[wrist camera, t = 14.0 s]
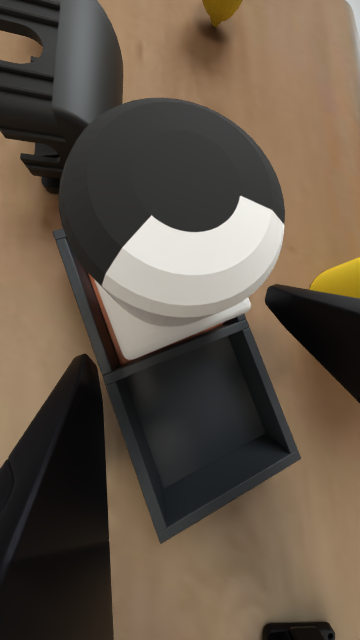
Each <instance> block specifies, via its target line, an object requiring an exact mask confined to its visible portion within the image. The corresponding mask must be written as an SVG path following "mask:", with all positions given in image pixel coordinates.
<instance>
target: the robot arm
mask: <svg viewBox="0 0 360 640" xmlns="http://www.w3.org/2000/svg"><path fill="white" fill-rule="evenodd" d="M265 303H266V305H267V306H268V308H269V309H270V310H271V311H272V312H273V314H274V315H275V316H276V317H277V319H278V320H279V321H280V322H281V324H282V325H283V326H284V327H285V328H286V329H287V330H288V331H289V332H290V333H291V334H292V335H293V336H294V337H295V338H296V339H297V340H298V341H299V342H300V343H301V344H302V345H303V346H304V347H305V348H306V349H307V350H308V351H309V352H310V353H311V354H312V355H313V356H314V357H315V358H316V359H317V360H318V361H319V362H320V363H321V365H322V366H323V367H324V368H325V369H326V370H327V371H328V372H329V373H330V374H331V375H332V376H333V377H334V378H335V379H336V380H337V381H338V382H339V383H340V384H341V385H342V386H343V387H344V388H345V389H346V390H347V391H348V392H349V393H350V394H351V395H352V396H353V397H354V398H355V399H356V400H357V401H358V402H359V403H360V298H354V297H348V296H343V295H337V294H331V293H325V292H319V291H313V290H308V289H302V288H296V287H290V286H284V285H279V284H275V285H272V286H270V287H268V289H267V293H266V297H265ZM8 458H9V459H7V460H6V461H5V463H4V464H3V466H2V467H1V469H0V640H114V637H113V614H112V592H111V569H110V547H109V541H108V540H109V528H108V505H107V482H106V460H105V437H104V415H103V400H102V394H101V388H100V382H99V376H98V371H97V367H96V365H95V363H94V362H93V361H92V360H91V359H90V357H89V356H88V355H87V354H82V355H79V356H77V357H75V358H74V359H73V361H72V362H71V364H70V365H69V367H68V368H67V370H66V371H65V373H64V374H63V376H62V377H61V379H60V380H59V382H58V383H57V385H56V386H55V388H54V389H53V391H52V392H51V394H50V395H49V397H48V398H47V400H46V401H45V403H44V404H43V406H42V407H41V409H40V410H39V412H38V413H37V415H36V416H35V418H34V419H33V421H32V422H31V424H30V425H29V427H28V428H27V430H26V431H25V433H24V434H23V436H22V437H21V439H20V440H19V442H18V443H17V445H16V446H15V448H14V449H13V451H12V452H11V454H10V455H9V457H8ZM263 640H335V633H334V631H333V629H332V627H331V626H330V624H329V623H328V622H310V623H273V624H268V625H267V626H266V627H265V630H264V638H263Z"/></svg>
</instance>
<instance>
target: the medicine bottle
mask: <svg viewBox="0 0 360 640" xmlns="http://www.w3.org/2000/svg"><path fill="white" fill-rule="evenodd" d="M59 211H60V216H61V221H62V226H63V229H64V232H65V235H66V237H67V240H68V242H69V245H70V246H71V248H72V250H73V252H74V254H75V255H76V257H77V259H78V260H79V262H80V263H81V264H82V265H83V267H84V268H85V269H86V271H87V272H88V273H89V274H90V275H91V276H92V277H93V278H94V280H95V283H96V285H97V288H98V291H99V293H100V296H101V299H102V301H103V304H104V307H105V309H106V312H107V314H108V317H109V320H110V322H111V325H112V328H113V330H114V333H115V335H116V338H117V341H118V343H119V346H120V349H121V351H122V354H123V356H124V357H125V358H126V359H128V360H132V359H135V358H138V357H140V356H143V355H145V354H148V353H150V352H152V351H155V350H157V349H160V348H162V347H164V346H167V345H169V344H172V343H174V342H177V341H179V340H181V339H184V338H186V337H189V336H191V335H194V334H196V333H198V332H201V331H203V330H206V329H208V328H210V327H213V326H215V325H218V324H220V323H223V322H225V321H227V320H230V319H232V318H235V317H237V316H239V315H242V314H244V313H247V312H248V311H249V310H250V309H251V303H250V301H249V298H248V297H249V296H250V295H252V294H253V293H254V292H255V291H256V290H257V289H258V288H259V287H260V286H261V285H262V284H263V283H264V282H265V280H266V279H267V277H268V276H269V274H270V273H271V272H272V270H273V268H274V266H275V264H276V262H277V259H278V256H279V253H280V250H281V247H282V241H283V235H284V221H285V209H284V200H283V195H282V191H281V187H280V184H279V181H278V178H277V176H276V173H275V171H274V169H273V167H272V165H271V163H270V162H269V160H268V158H267V157H266V156H265V154H264V153H263V151H262V150H261V148H260V147H259V146H258V145H257V144H256V142H255V141H254V140H253V139H252V138H251V137H250V136H249V135H248V134H247V133H246V132H245V131H244V130H243V129H241V128H240V127H239V126H237V125H236V124H235V123H233V122H232V121H231V120H229V119H228V118H226V117H224V116H223V115H221V114H219V113H217V112H215V111H213V110H211V109H209V108H207V107H204V106H201V105H198V104H195V103H192V102H188V101H184V100H179V99H170V98H146V99H140V100H134V101H131V102H127V103H124V104H121V105H119V106H116V107H114V108H112V109H110V110H108V111H106V112H105V113H103V114H102V115H100V116H99V117H98V118H96V119H95V120H94V121H93V122H92V123H91V124H90V125H88V126H87V127H86V128H85V129H84V131H83V132H82V133H81V135H80V136H79V137H78V139H77V140H76V142H75V144H74V146H73V148H72V150H71V152H70V154H69V156H68V158H67V161H66V163H65V166H64V169H63V172H62V176H61V180H60V188H59Z"/></svg>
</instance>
